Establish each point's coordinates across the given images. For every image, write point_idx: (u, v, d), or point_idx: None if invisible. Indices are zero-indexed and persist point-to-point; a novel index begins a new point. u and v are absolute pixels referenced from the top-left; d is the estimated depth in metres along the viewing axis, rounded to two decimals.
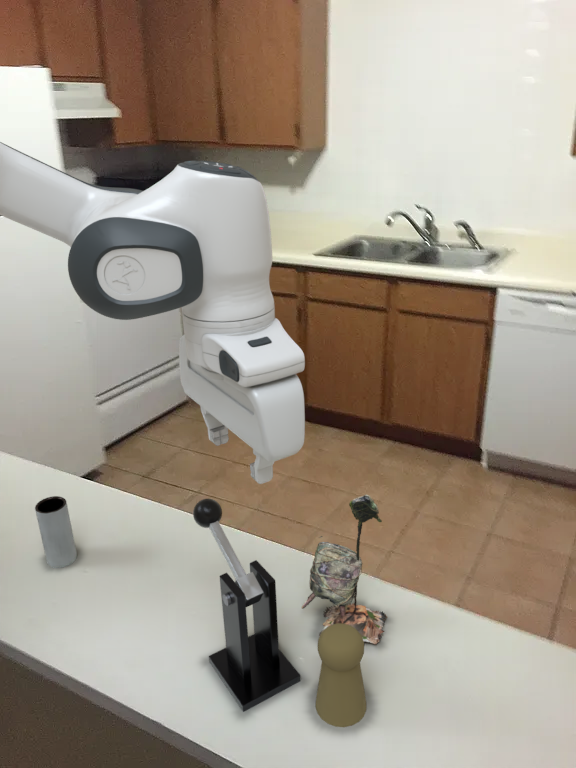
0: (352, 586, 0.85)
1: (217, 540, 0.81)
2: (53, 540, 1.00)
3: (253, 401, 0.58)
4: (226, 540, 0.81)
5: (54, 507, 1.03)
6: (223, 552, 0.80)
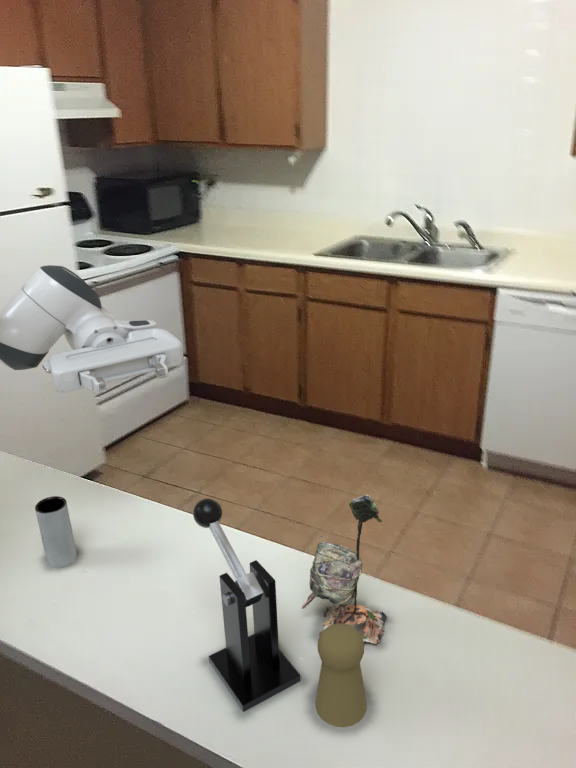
0: (352, 586, 0.85)
1: (217, 540, 0.81)
2: (53, 540, 1.00)
3: (160, 329, 1.09)
4: (226, 540, 0.81)
5: (54, 507, 1.03)
6: (223, 552, 0.80)
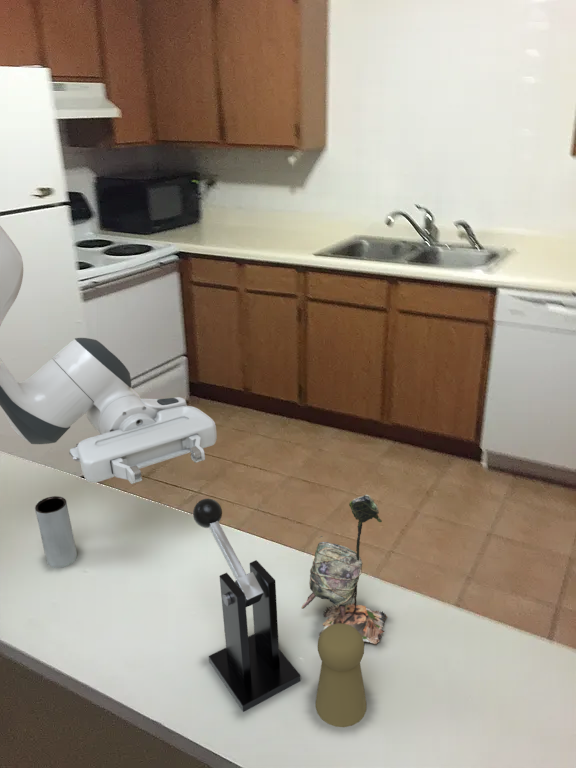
0: (352, 586, 0.85)
1: (217, 540, 0.81)
2: (53, 540, 1.00)
3: (191, 407, 1.03)
4: (226, 540, 0.81)
5: (54, 507, 1.03)
6: (223, 552, 0.80)
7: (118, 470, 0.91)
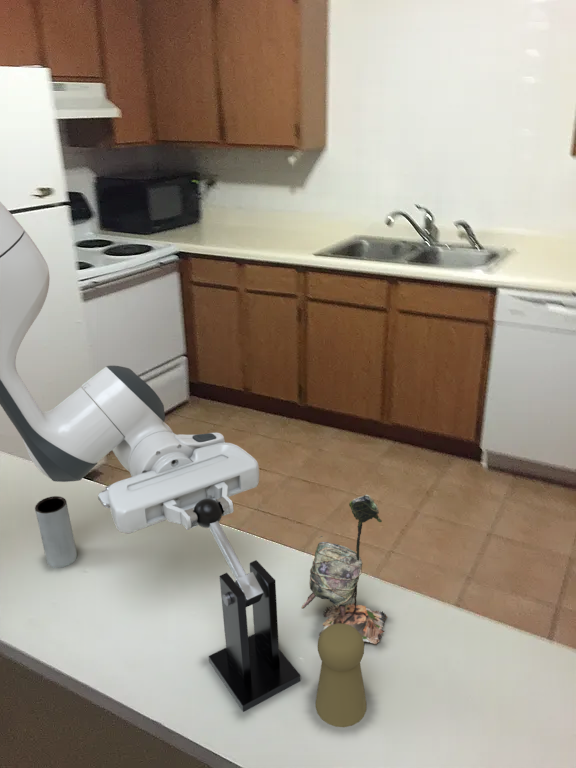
0: (352, 586, 0.85)
1: (217, 540, 0.81)
2: (53, 540, 1.00)
3: (230, 444, 0.94)
4: (226, 540, 0.81)
5: (54, 507, 1.03)
6: (223, 552, 0.80)
7: (171, 514, 0.83)
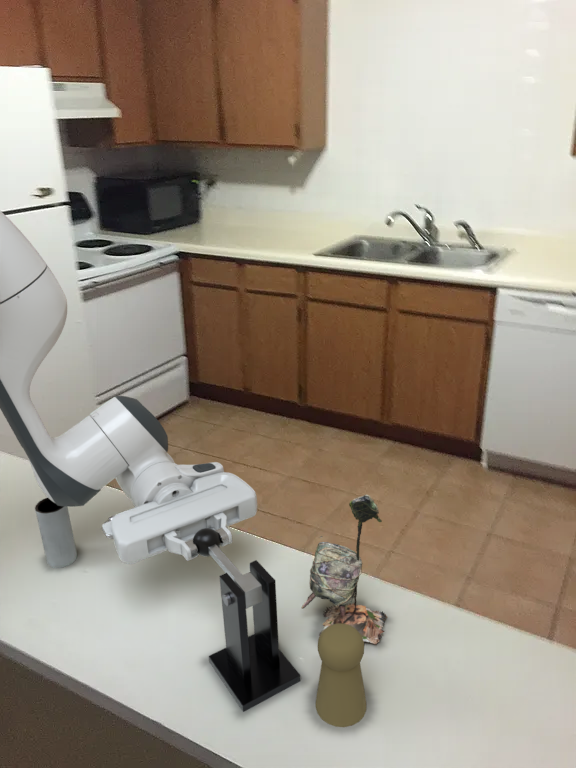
0: (352, 586, 0.85)
1: (216, 559, 0.83)
2: (53, 540, 1.00)
3: (228, 473, 0.97)
4: (224, 556, 0.83)
5: (54, 507, 1.03)
6: (222, 566, 0.82)
7: (172, 545, 0.86)
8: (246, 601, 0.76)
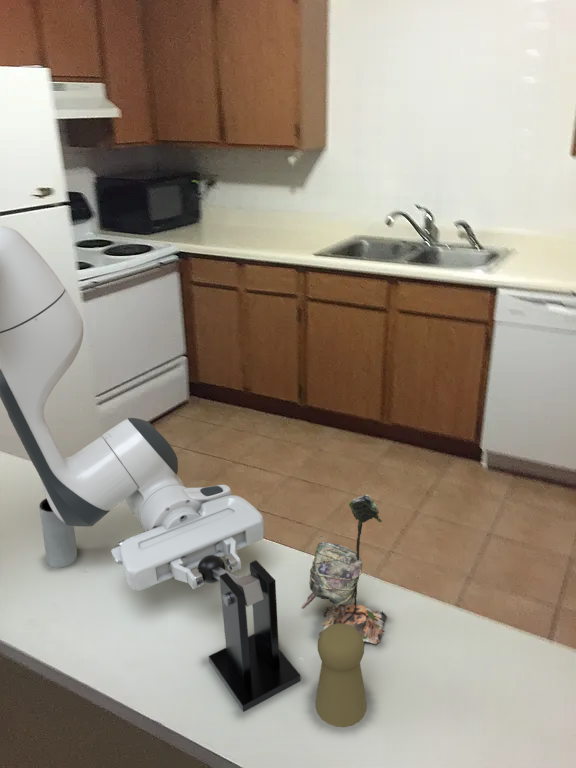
0: (352, 586, 0.85)
1: None
2: (56, 539, 1.00)
3: (236, 497, 0.98)
4: (226, 572, 0.83)
5: None
6: None
7: (178, 573, 0.87)
8: (246, 597, 0.76)
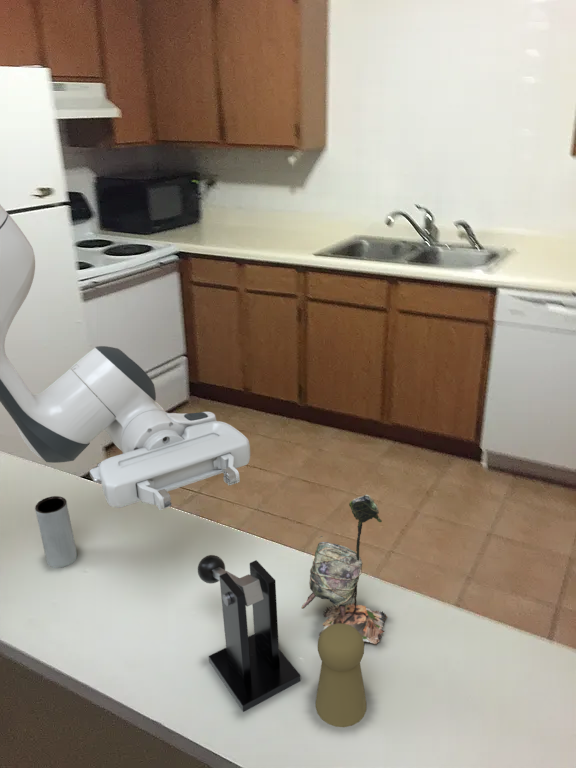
0: (352, 586, 0.85)
1: None
2: (53, 540, 1.00)
3: (221, 422, 0.95)
4: (226, 572, 0.83)
5: (54, 507, 1.03)
6: None
7: (145, 494, 0.82)
8: (246, 597, 0.76)
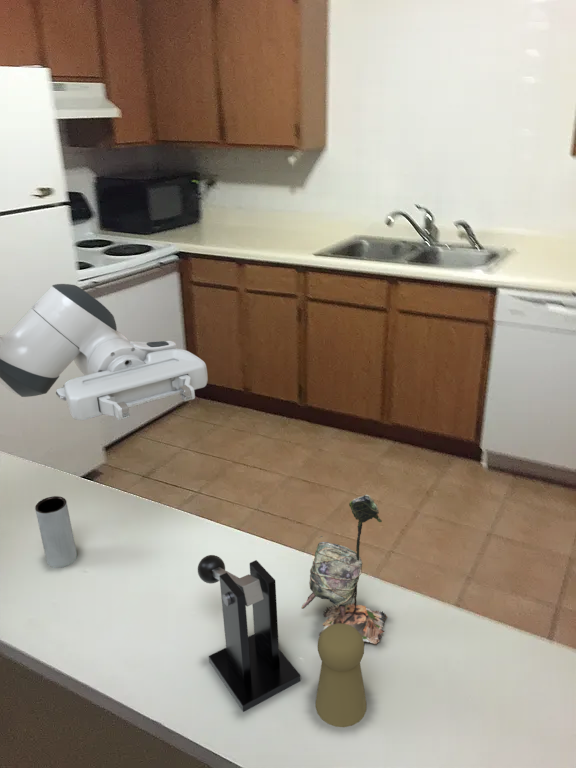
0: (352, 586, 0.85)
1: None
2: (53, 540, 1.00)
3: (181, 349, 1.01)
4: (226, 572, 0.83)
5: (54, 507, 1.03)
6: None
7: (105, 407, 0.89)
8: (246, 597, 0.76)
